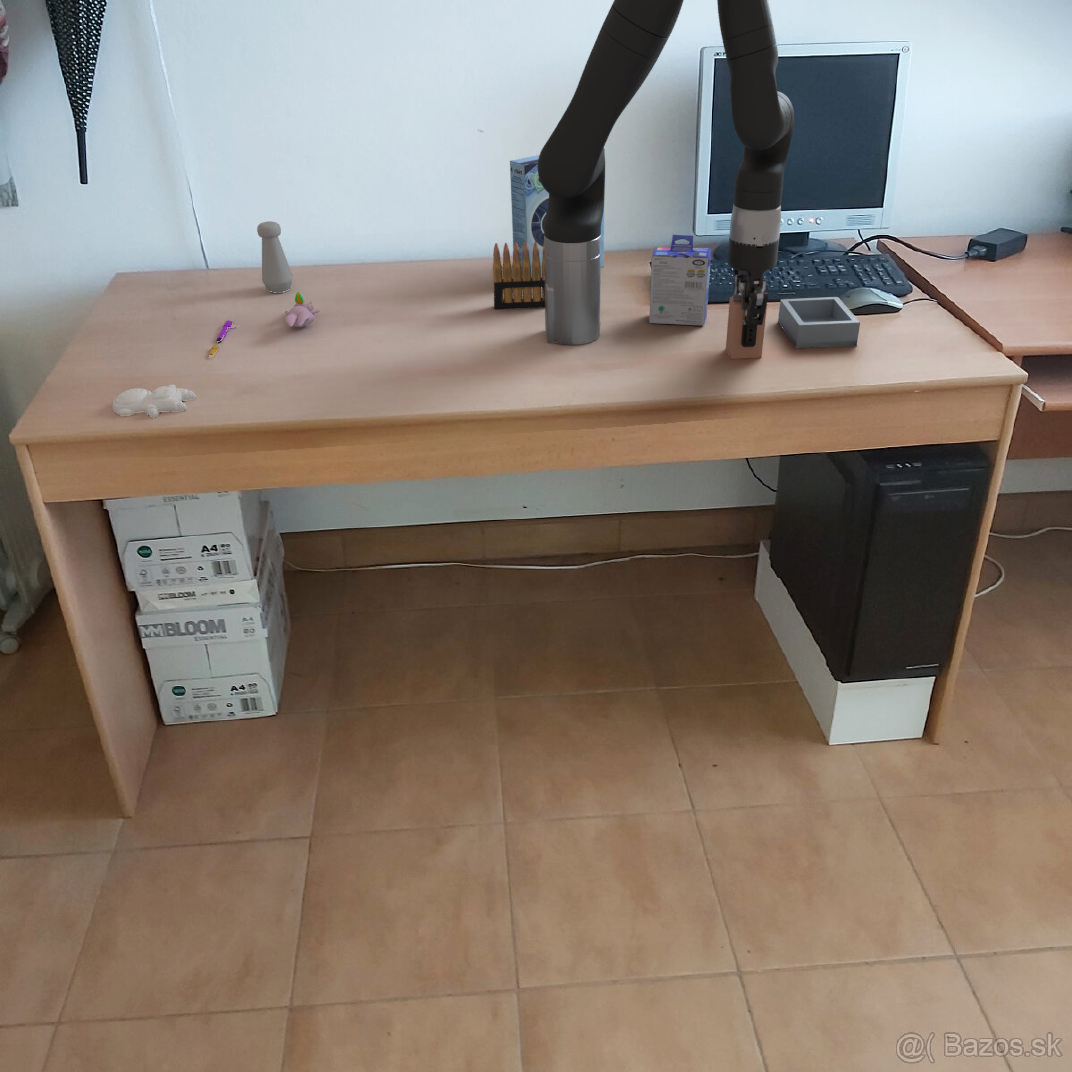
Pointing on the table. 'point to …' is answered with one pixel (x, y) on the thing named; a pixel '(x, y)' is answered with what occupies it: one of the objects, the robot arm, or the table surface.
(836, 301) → the organizer bin
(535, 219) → the blue fan box
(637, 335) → the table surface
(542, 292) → the ammunition clip
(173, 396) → the white flat lumpy piece
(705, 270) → the ink cartridge box
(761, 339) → the tan slab
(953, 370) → the table surface
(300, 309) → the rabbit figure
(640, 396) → the table surface
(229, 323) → the marker pen
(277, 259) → the salt shaker
